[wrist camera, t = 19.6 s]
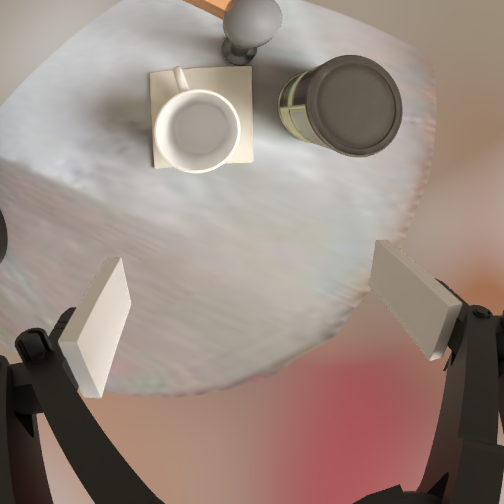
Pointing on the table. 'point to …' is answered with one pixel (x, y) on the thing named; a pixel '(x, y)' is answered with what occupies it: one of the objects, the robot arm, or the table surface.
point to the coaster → (221, 82)
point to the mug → (196, 128)
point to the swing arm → (245, 19)
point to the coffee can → (343, 106)
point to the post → (237, 53)
